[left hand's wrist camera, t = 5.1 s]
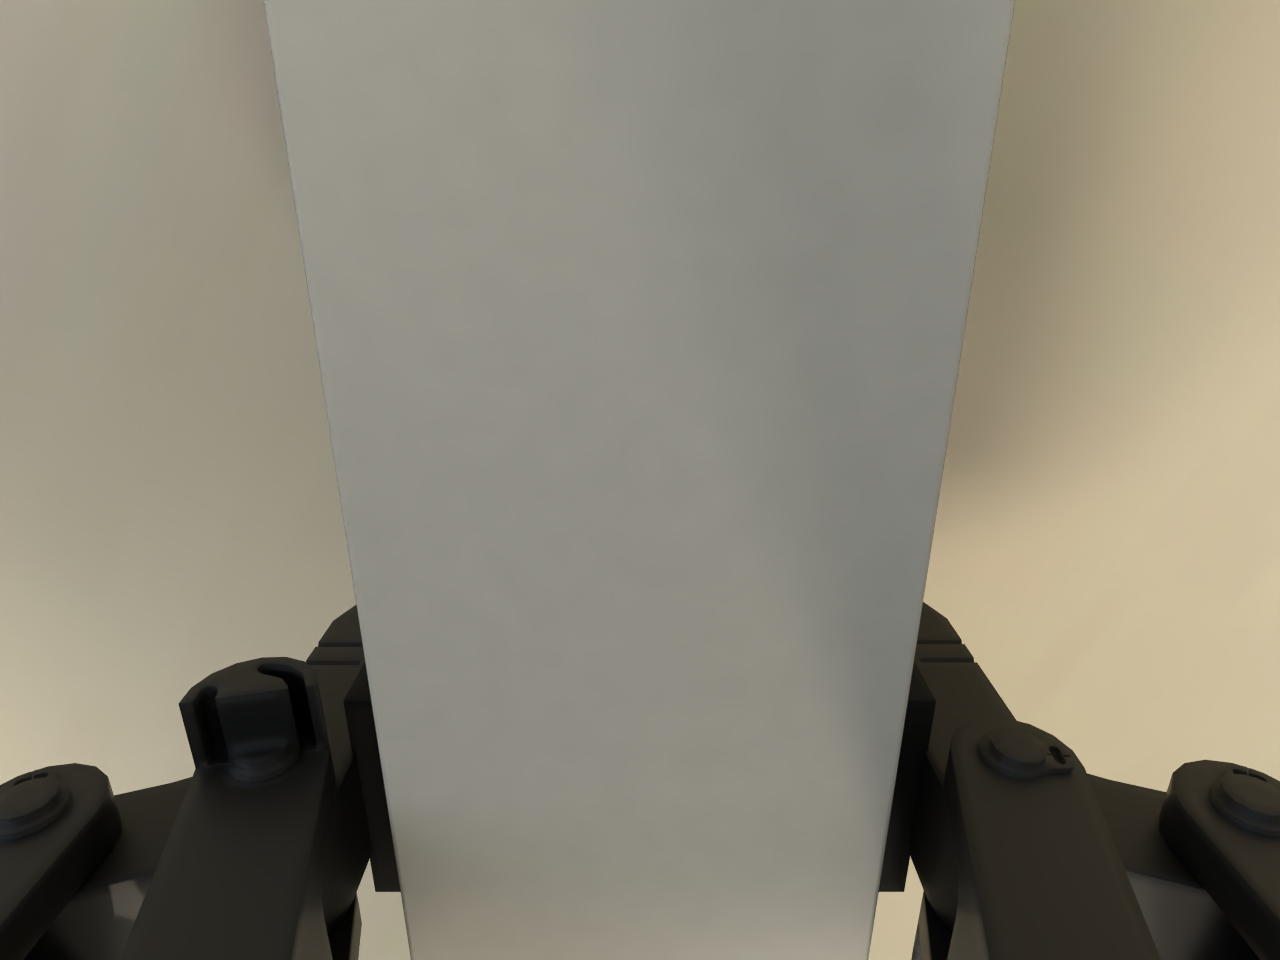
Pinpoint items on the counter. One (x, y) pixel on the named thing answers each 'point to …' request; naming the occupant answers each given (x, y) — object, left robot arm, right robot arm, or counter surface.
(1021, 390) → the counter surface
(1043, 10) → the counter surface
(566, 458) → the post
